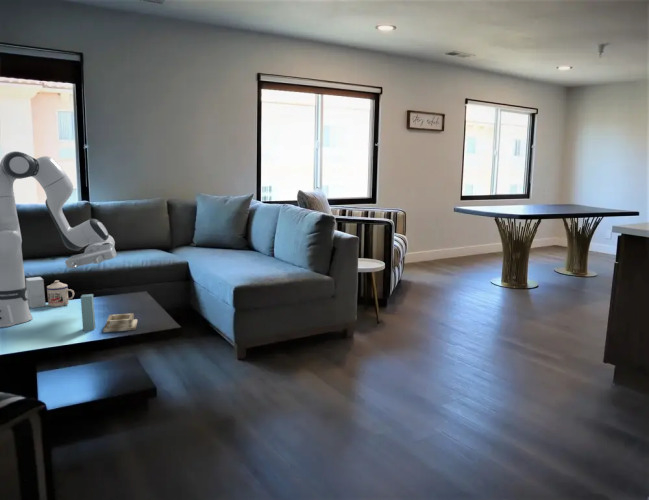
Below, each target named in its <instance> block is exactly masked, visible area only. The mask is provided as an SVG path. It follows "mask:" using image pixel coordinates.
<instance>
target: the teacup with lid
mask: <svg viewBox="0 0 649 500" xmlns="http://www.w3.org/2000/svg"><path fill="white" fill-rule="evenodd" d="M68 287H69V286H68V284H67V283H63V282H60V280H58V279H57V280H54V282H53V283H51V284H50V285H47V286H46V292H47V293H46V294H47V304H48V306H49V307H52V308H53V307H64V306H66V305H68V304H69V303H70V302H69V301H70V300H73V298H74V296H75V291H74V290H73V289H71V288H70V289H69V288H68ZM69 292H71V293H72V294H71V295H72V296H71V297H69Z"/></svg>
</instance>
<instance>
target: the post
mask: <svg viewBox="0 0 649 500" xmlns="http://www.w3.org/2000/svg"><path fill="white" fill-rule="evenodd" d="M80 306H81V309H80V310H81V318H82V319H81V322H82V331H83V332H87V331H88V332H89V331H95V329H96V315H95V314H96V313H95V300H94V293H89V294H86V293H85V294H81V296H80Z"/></svg>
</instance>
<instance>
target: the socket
mask: <svg viewBox="0 0 649 500" xmlns="http://www.w3.org/2000/svg"><path fill="white" fill-rule="evenodd" d="M137 324H138V319H137V318H135V314H134V313H133V312H132V313H119V314H109V315H108V317H107V320H106V323H105V325H104V327H103V329H102V330H103V331H102V332H103V333H111V332H124V331H125V332H126V331H135V330H137V326H138V325H137Z"/></svg>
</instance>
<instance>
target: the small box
mask: <svg viewBox="0 0 649 500" xmlns="http://www.w3.org/2000/svg"><path fill="white" fill-rule="evenodd" d="M44 282H45V281H44V279H43V278H42V277H41V276H35V277H25V286H26V287H27V292H28V299H27V301H28V306H29V308H31V309H33V308H35V309H36V308H39V307H40V308H41V307H46V297H45V296H46V293H45V283H44Z"/></svg>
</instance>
